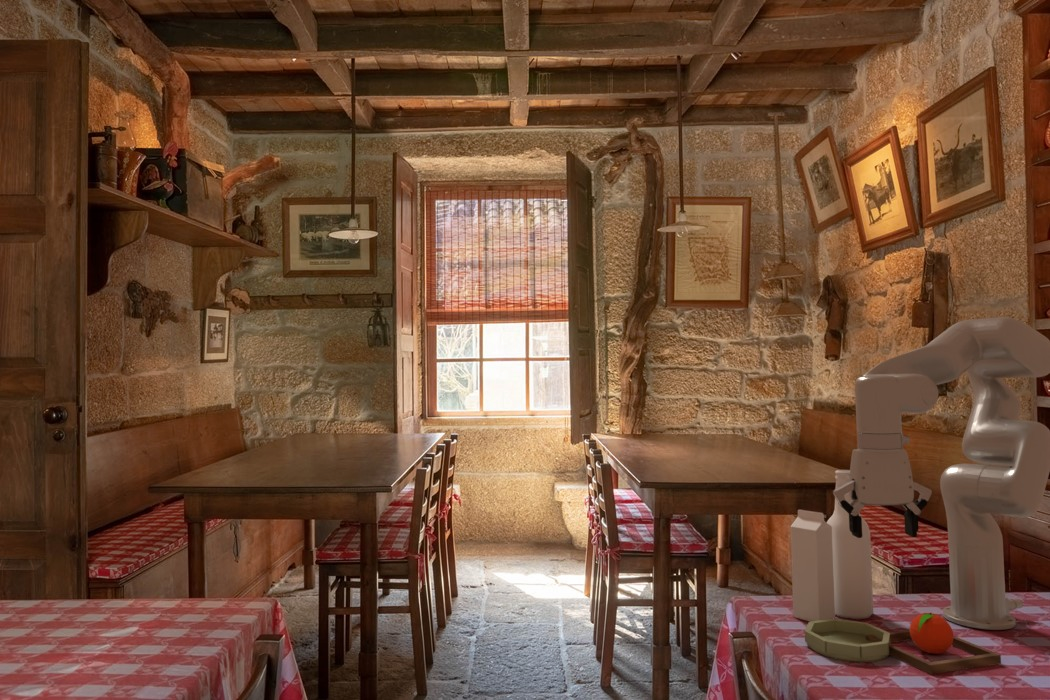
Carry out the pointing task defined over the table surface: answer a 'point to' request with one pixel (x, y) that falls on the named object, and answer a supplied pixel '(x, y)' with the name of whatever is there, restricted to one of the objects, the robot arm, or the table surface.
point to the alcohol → (850, 562)
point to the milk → (812, 567)
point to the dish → (847, 640)
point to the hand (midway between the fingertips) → (883, 536)
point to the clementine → (931, 633)
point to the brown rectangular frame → (981, 659)
